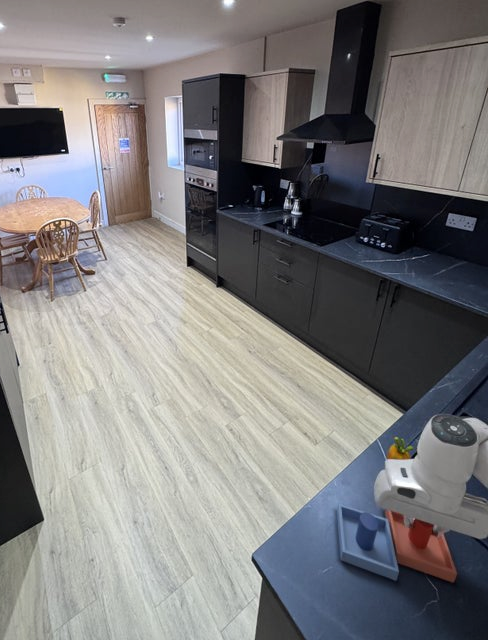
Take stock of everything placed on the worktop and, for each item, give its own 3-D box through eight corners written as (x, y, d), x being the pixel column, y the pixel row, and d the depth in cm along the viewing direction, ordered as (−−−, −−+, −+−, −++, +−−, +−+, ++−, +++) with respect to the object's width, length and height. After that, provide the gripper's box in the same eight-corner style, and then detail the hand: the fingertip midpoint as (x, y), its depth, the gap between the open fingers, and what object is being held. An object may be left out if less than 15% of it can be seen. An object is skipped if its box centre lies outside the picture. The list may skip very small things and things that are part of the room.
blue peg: (371, 535, 75) (376, 515, 72) (374, 553, 71) (379, 533, 69) (354, 529, 76) (359, 509, 74) (356, 547, 73) (361, 527, 70)
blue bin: (385, 527, 77) (387, 519, 76) (396, 581, 68) (399, 572, 67) (336, 511, 80) (338, 503, 79) (340, 560, 71) (342, 551, 70)
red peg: (424, 533, 74) (431, 513, 72) (429, 551, 71) (436, 531, 68) (406, 527, 75) (412, 507, 73) (410, 545, 72) (417, 524, 70)
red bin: (436, 529, 76) (439, 520, 75) (453, 583, 67) (457, 574, 66) (384, 512, 80) (387, 504, 79) (395, 562, 70) (397, 553, 70)
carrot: (407, 487, 85) (419, 445, 80) (394, 495, 83) (405, 452, 79) (390, 470, 89) (400, 429, 85) (377, 477, 88) (387, 435, 83)
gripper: (488, 487, 67) (471, 530, 71) (377, 456, 73) (367, 498, 78) (505, 520, 61) (485, 565, 66) (383, 484, 68) (372, 527, 72)
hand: (420, 528), depth 72 cm, fingers closed on red peg, 3 cm apart
